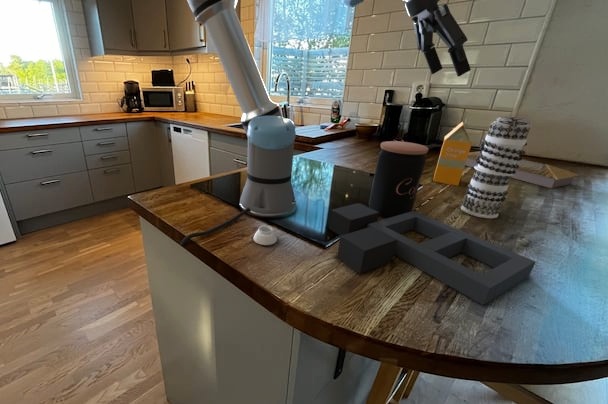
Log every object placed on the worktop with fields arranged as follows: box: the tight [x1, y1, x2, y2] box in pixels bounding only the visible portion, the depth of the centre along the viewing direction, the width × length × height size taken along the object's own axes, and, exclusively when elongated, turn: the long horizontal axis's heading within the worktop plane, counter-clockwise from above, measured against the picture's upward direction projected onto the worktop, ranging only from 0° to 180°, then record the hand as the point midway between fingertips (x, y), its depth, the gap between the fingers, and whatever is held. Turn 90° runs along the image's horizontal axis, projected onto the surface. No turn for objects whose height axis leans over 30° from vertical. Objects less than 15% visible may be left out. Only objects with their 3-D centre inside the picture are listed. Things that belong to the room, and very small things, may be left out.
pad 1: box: [328, 202, 379, 237], centre depth 69 cm, size 9×6×5 cm, turn 118°
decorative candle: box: [460, 116, 534, 219], centre depth 77 cm, size 9×9×25 cm
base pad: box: [367, 210, 537, 306], centre depth 60 cm, size 16×24×4 cm, turn 28°
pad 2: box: [336, 226, 397, 275], centre depth 58 cm, size 9×6×5 cm, turn 118°
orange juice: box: [432, 121, 473, 186], centre depth 102 cm, size 8×9×20 cm
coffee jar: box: [368, 140, 429, 219], centre depth 77 cm, size 11×11×18 cm
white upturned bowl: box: [253, 225, 278, 246], centre depth 64 cm, size 5×3×5 cm
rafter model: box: [465, 150, 581, 189], centre depth 115 cm, size 35×14×6 cm, turn 23°
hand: (449, 72), depth 78 cm, fingers open, 13 cm apart
